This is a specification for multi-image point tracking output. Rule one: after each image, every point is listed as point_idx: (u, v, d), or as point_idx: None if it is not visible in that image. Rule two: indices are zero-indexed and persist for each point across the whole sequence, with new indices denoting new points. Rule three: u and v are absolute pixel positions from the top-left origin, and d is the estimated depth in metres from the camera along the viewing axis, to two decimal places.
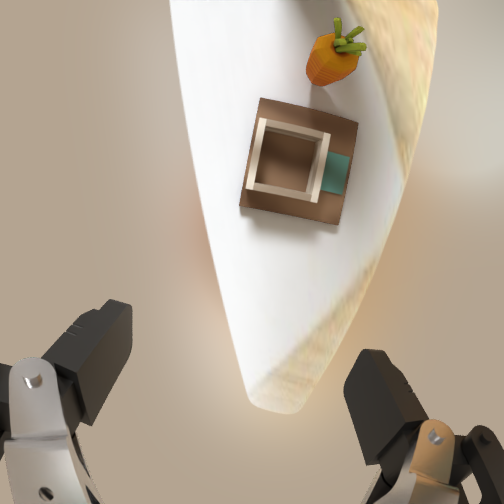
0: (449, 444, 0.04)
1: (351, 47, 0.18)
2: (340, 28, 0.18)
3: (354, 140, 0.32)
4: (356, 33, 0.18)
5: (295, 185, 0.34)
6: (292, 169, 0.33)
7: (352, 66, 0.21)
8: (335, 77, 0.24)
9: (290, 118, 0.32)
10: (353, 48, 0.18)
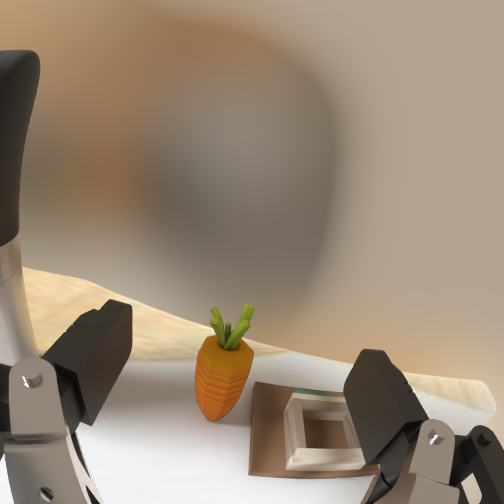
0: (449, 444, 0.04)
1: (248, 319, 0.22)
2: (222, 324, 0.21)
3: (275, 385, 0.32)
4: None
5: (339, 429, 0.26)
6: (325, 434, 0.26)
7: None
8: None
9: (271, 440, 0.24)
10: (250, 318, 0.22)
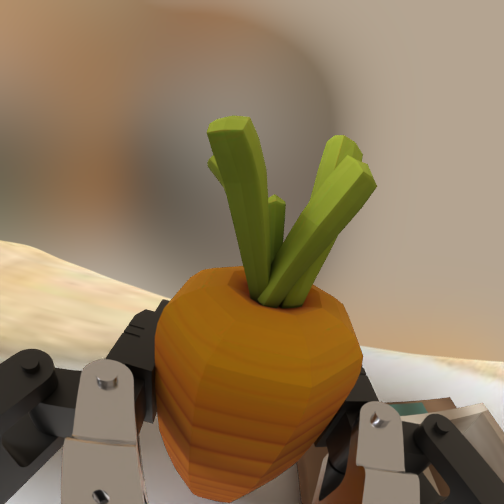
0: (393, 429, 0.05)
1: None
2: None
3: None
4: None
5: None
6: (437, 478, 0.09)
7: None
8: None
9: None
10: None
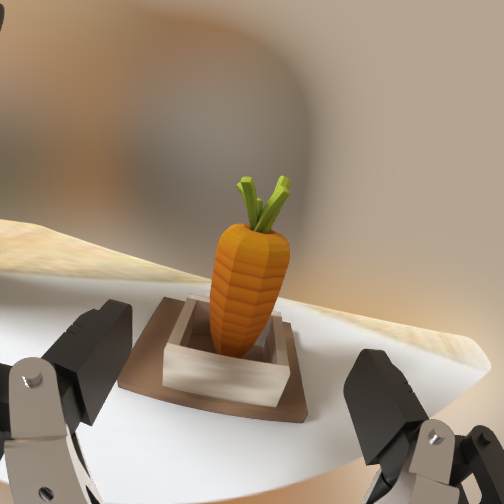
0: (449, 444, 0.04)
1: None
2: (254, 190, 0.17)
3: (186, 302, 0.29)
4: None
5: (256, 354, 0.24)
6: None
7: None
8: None
9: (157, 350, 0.21)
10: None
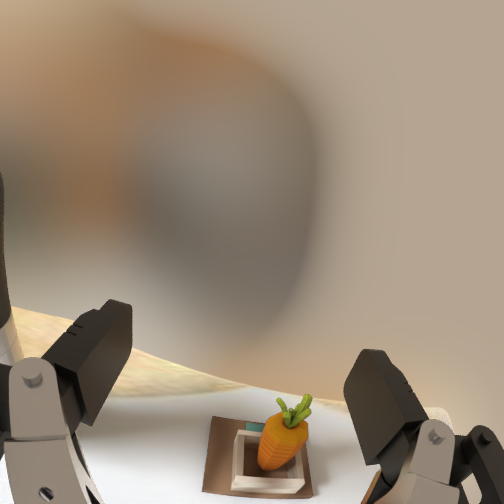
0: (449, 444, 0.04)
1: (307, 406, 0.25)
2: (290, 414, 0.24)
3: (229, 419, 0.36)
4: None
5: None
6: None
7: None
8: None
9: (221, 465, 0.28)
10: (309, 404, 0.25)
